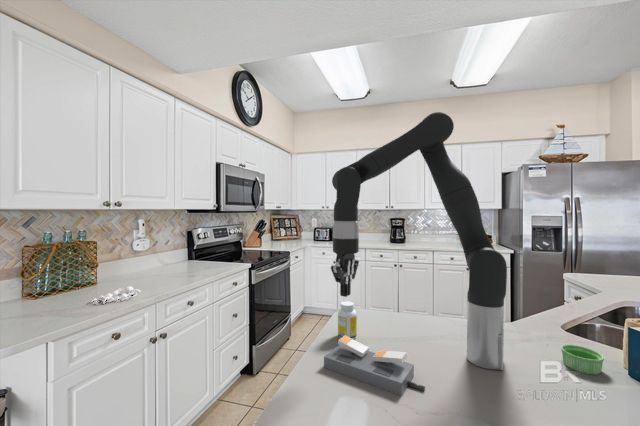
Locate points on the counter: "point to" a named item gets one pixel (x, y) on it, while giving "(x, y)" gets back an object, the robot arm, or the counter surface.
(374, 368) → the power strip
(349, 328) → the pill bottle
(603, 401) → the counter surface
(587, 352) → the ramekin
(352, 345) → the rocker outer
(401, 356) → the block
